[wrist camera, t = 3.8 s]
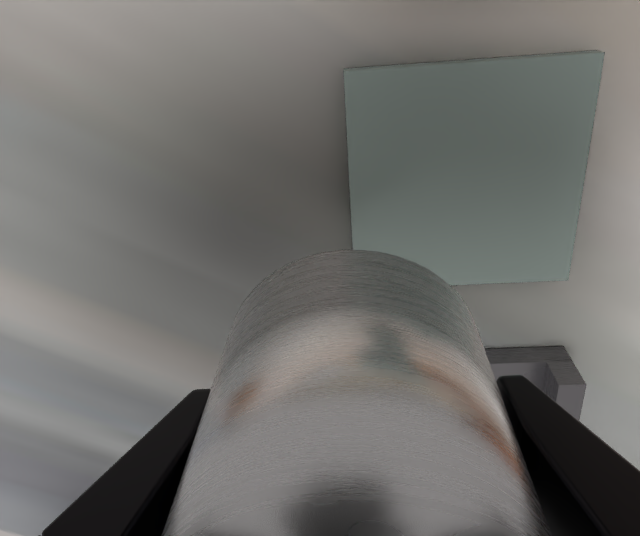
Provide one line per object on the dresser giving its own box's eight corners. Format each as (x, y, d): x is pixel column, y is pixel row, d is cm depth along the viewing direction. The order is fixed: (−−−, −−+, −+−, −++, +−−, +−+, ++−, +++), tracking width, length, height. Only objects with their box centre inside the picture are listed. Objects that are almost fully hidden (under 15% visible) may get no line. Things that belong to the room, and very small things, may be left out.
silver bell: (475, 446, 11) (579, 835, 6) (250, 454, 12) (173, 824, 7) (485, 240, 9) (663, 585, 4) (206, 259, 9) (37, 591, 4)
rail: (548, 435, 25) (567, 478, 22) (267, 441, 26) (260, 482, 23) (563, 346, 22) (586, 384, 20) (253, 356, 23) (244, 394, 21)
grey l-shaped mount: (562, 272, 21) (737, 507, 11) (354, 281, 21) (360, 512, 12) (638, -219, 14) (1215, -617, 5) (330, -185, 15) (302, -480, 5)
